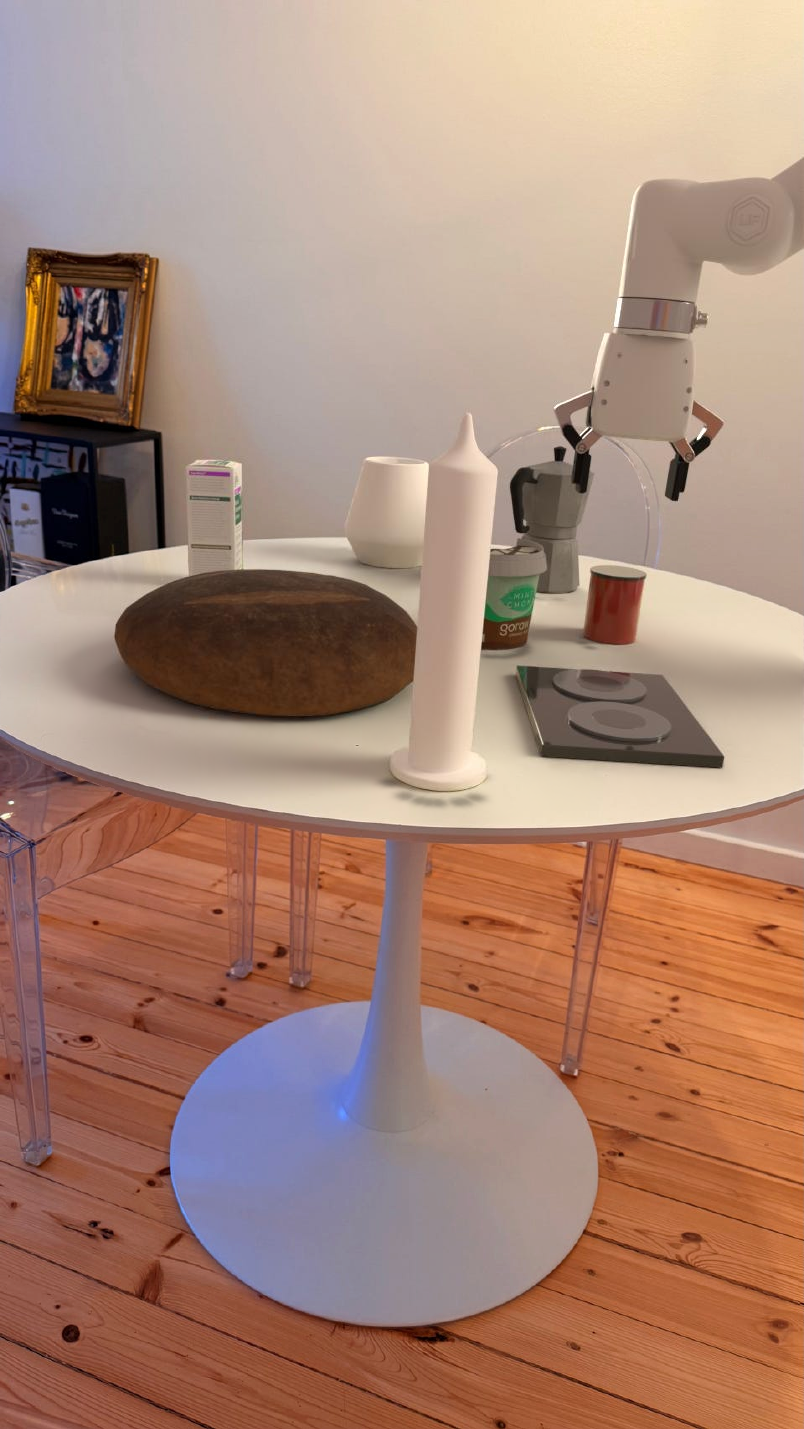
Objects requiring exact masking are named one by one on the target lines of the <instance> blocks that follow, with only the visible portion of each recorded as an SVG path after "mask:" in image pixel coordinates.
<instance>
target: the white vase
mask: <svg viewBox="0 0 804 1429" xmlns="http://www.w3.org/2000/svg"><path fill="white" fill-rule="evenodd" d="M429 465H430V464H429V463H428V462H427V461H425V460H422V459H417V458H411V457H400V456H399V457H398V456H369V457H366V458H364V459H363V463H362V466H361V468H360V469H361V470H360V473H359V476H358V479H357V482H356V486H355V489H354V492H353V496H352V500H351V503H350V506H349V510H348V513H347V517H346V520H345V523H344V534H345V537H346V539H347V540H348V542H349V545H350V546H351V548H352V550H353V552H354V554H355V556H356V558H357V560H358V562H360V563H362V564H363V565H368V566H372V567H376V568H377V567H378V568H386V569H411V568H412V569H413V568H416V567H421V566H422V555H423V541H424V527H425V513H426V499H427V485H428V471H429Z"/></svg>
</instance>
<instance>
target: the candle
mask: <svg viewBox="0 0 804 1429" xmlns="http://www.w3.org/2000/svg"><path fill="white" fill-rule="evenodd" d="M461 419H462V420H461V422H460V426H459V430H458V433H457V436H456V438H455V439H454V442H453V444H452V445H451V447H450V448H448V449H447V450H445V451H444V452H443V453H441V455H439V456H438V457H436V458H435V459H434V460H432V461H431V462H430V463H429V464H428V465H429V471H428V485H427V499H426V513H425V527H424V541H423V555H422V564H421V570H420V571H421V572H420V586H419V599H418V610H417V612H418V614H417V624H416V626H417V639H416V653H415V667H414V681H412V697H411V712H410V722H409V723H410V725H409V738H408V739H409V740H408V745H406V746H404V747H401V748H399V749H397V750H395V751H394V753H392V754H391V756H390V759H389V770H390V773H391V774H392V775H393V776H394V777H395V778H396V779H398V780H399V781H400V782H403V783H404V784H407V785H409V786H412V787H414V788H415V787H416V788H418V789H423V790H429V791H437V792H438V791H439V792H451V791H452V792H455V791H463V790H467V789H472V788H474V787H476V786H478V785H481V783H483V782H484V781H485V780H486V778H487V775H488V764H487V762H486V760H485V759H484V758H483V757H482V756H481V755H480V754H478V753H476V752H475V751H472V749H473V748H472V747H473V736H474V726H475V717H476V705H477V694H478V684H479V672H480V664H481V652H482V649H481V643H482V633H483V622H484V612H485V602H486V591H487V581H488V570H489V560H490V549H492V540H493V539H492V538H493V537H492V536H493V527H494V526H493V525H494V516H495V508H496V507H495V505H496V495H497V484H498V476H499V475H498V474H499V470H498V468H497V466H496V465H495V464H494V463H493V462H492V461H490V459H489V458H488V457H486V455H485V454H484V453H483V452H482V451H481V450H480V449H479V446H478V444H477V441H476V436H475V430H474V423H473V422H474V420H473V415H472V413H470V412H466V413H464V414H463V416H462V418H461Z"/></svg>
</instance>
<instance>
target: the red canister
mask: <svg viewBox="0 0 804 1429" xmlns="http://www.w3.org/2000/svg"><path fill="white" fill-rule="evenodd" d="M589 572H590V577H589V584H588V592H587V600H586V608H585V613H584V614H585V615H584V622H583V628H582V629H583V631H582V635H583V636H584V637H585V638H586V639H588V640H590V641H594V642H597V643H602V644H608V645H629V644H634V643H635V642H636V640H637V635H638V628H639V622H640V615H641V609H642V602H643V596H644V590H645V589H644V588H645V583H646V579H647V572H645V571H643V570H641V569H638V568H634V567H629V566H622V565H614V564H613V565H611V564H600V565H594V566H591V567H590V571H589Z"/></svg>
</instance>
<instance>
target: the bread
mask: <svg viewBox="0 0 804 1429" xmlns="http://www.w3.org/2000/svg"><path fill="white" fill-rule="evenodd" d="M113 638H114V641H115V644H116V648H117V649H118V652H119V655H120V657H121V659H122V661H123V662H124V664H125V665H126V666H127V667H128V668H129V669H130V670H132V672H134V674H136V675H137V677H139V678H140V680H142V681H143V682H144V683H146V684H148V685H149V686H151V687H153V688H155V689H157V690H159V691H161V692H162V693H163V692H164V693H165V694H167V695H170V696H173V697H174V698H178V699H179V700H183V701H185V702H188V703H191V704H193V705H196V706H200V707H204V708H208V709H213V710H219V711H227V712H232V713H241V714H247V715H256V716H257V715H258V716H266V717H315V716H316V717H320V716H330V715H331V716H332V715H337V714H343V713H349V712H353V711H357V710H361V709H365V708H368V707H372V706H375V705H378V704H381V703H383V702H385V701H388V700H391V699H393V698H394V697H396V695H398V694H399V693H400V692H402V691H403V690H405V689H406V688H407V687H408V686H409V685H410V684H411V683H413V681H414V667H415V653H416V639H417V624H416V622H415V620H413V618H412V617H411V616H410V614H409V613H408V611H407V610H405V609H404V608H403V607H402V606H400V605H399V604H398V603H397V602H395V601H394V600H393V599H392V598H390V597H389V596H388V595H386V594H384V593H382V592H380V591H378V590H376V589H374V588H373V587H371V586H370V585H368V584H365V583H362V582H359V581H356V580H354V579H350V578H345V577H341V576H337V575H332V574H331V575H330V574H321V573H317V572H308V571H299V570H286V569H285V570H284V569H265V568H264V569H263V568H260V569H259V568H255V569H254V568H247V569H245V568H243V569H241V570H224V571H214V572H206V573H201V574H197V575H192V576H189V575H188V576H185V577H182V578H178V579H175V580H173V581H170V582H168V583H165V584H164V585H161V586H159V587H157V588H155V589H153V590H151V591H149V592H147V593H146V594H144V595H143V596H141V597H139V598H138V599H137V600H136V601H134V602H133V603H131V604H129V605H128V606H127V607H126V608H125V609H124V611H123V612H122V613H121V614H120V616H119V617H118V619H117V621H116V623H115V628H114V636H113Z"/></svg>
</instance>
